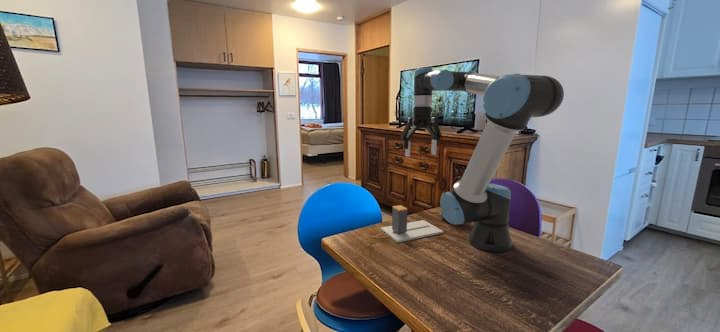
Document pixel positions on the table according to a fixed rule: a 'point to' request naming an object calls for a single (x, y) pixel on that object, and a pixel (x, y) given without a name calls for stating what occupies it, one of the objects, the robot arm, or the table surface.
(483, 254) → the table surface
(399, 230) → the lever
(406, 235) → the fader console
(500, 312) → the table surface
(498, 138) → the robot arm
